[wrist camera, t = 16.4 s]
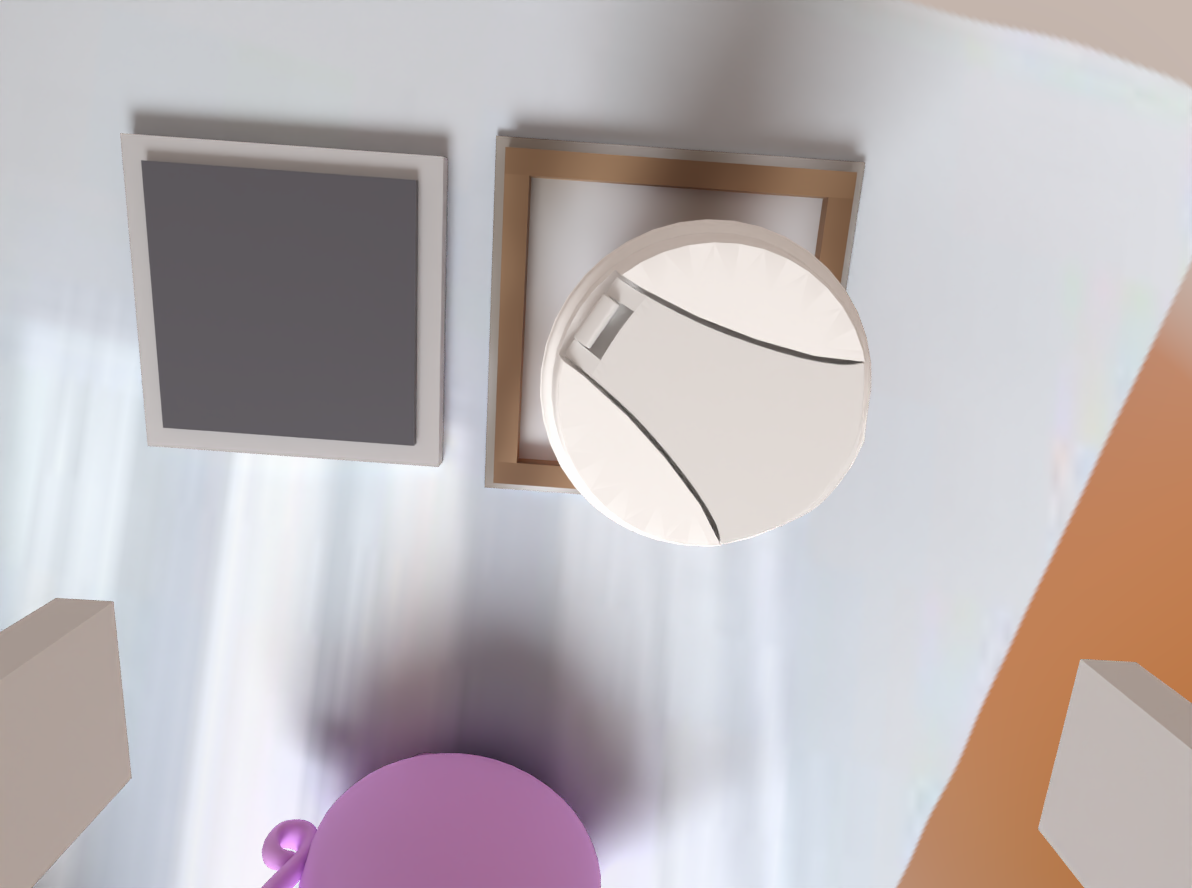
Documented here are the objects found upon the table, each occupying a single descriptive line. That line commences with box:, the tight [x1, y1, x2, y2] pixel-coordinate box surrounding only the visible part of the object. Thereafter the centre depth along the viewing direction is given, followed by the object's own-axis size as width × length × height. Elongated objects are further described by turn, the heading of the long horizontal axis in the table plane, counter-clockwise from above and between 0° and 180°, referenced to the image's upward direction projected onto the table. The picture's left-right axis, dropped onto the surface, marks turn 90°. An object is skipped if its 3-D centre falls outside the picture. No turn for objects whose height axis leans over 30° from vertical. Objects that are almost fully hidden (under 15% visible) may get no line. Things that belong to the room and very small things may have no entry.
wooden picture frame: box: [485, 136, 865, 494], centre depth 31 cm, size 15×15×1 cm
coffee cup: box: [540, 219, 871, 547], centre depth 24 cm, size 8×8×15 cm
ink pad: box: [120, 133, 448, 467], centre depth 31 cm, size 13×13×1 cm
